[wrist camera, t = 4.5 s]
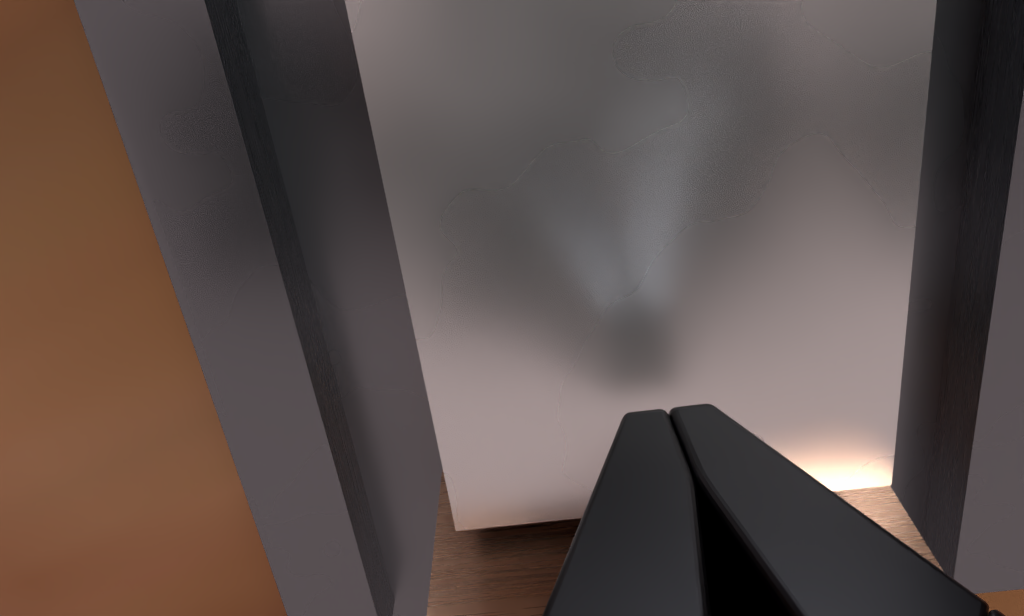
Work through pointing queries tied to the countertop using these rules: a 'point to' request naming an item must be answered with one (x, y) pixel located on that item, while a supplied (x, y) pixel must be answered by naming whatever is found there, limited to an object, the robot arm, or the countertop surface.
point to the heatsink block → (389, 330)
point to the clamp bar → (649, 226)
